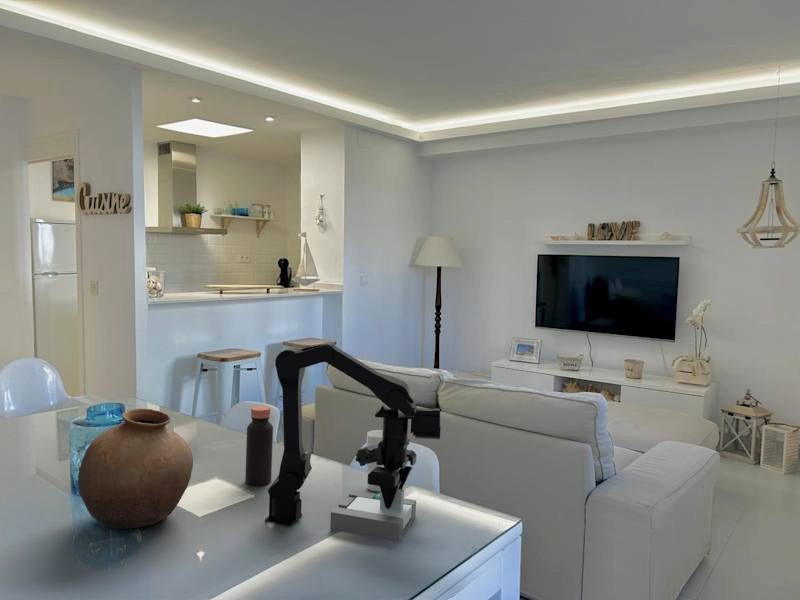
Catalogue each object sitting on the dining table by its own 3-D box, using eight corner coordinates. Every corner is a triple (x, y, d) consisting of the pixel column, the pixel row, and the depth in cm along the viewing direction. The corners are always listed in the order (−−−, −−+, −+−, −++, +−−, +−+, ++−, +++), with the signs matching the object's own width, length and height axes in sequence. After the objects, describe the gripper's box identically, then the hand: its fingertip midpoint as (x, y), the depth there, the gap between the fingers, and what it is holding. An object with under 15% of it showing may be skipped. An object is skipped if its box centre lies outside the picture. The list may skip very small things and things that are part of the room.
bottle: (256, 488, 154) (258, 412, 152) (239, 481, 158) (242, 407, 157) (276, 481, 159) (279, 408, 158) (260, 475, 163) (262, 403, 162)
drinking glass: (386, 495, 153) (389, 438, 153) (361, 491, 155) (364, 435, 154) (392, 485, 160) (394, 431, 159) (368, 482, 161) (370, 428, 161)
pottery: (82, 508, 137) (84, 402, 135) (188, 497, 146) (190, 397, 145) (71, 554, 116) (73, 429, 115) (195, 537, 125) (198, 421, 124)
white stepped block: (345, 519, 134) (347, 488, 134) (357, 507, 142) (358, 478, 141) (402, 530, 131) (404, 498, 130) (411, 516, 138) (413, 486, 137)
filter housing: (330, 529, 132) (330, 512, 132) (352, 505, 146) (353, 490, 145) (398, 542, 128) (399, 524, 127) (415, 516, 141) (416, 500, 141)
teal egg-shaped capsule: (373, 508, 141) (373, 497, 141) (377, 503, 144) (378, 492, 144) (386, 510, 140) (387, 499, 140) (391, 505, 143) (391, 494, 143)
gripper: (374, 422, 145) (371, 484, 146) (346, 443, 128) (343, 513, 128) (418, 427, 142) (415, 491, 143) (395, 449, 124) (392, 522, 125)
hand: (391, 503), depth 135 cm, fingers open, 5 cm apart
